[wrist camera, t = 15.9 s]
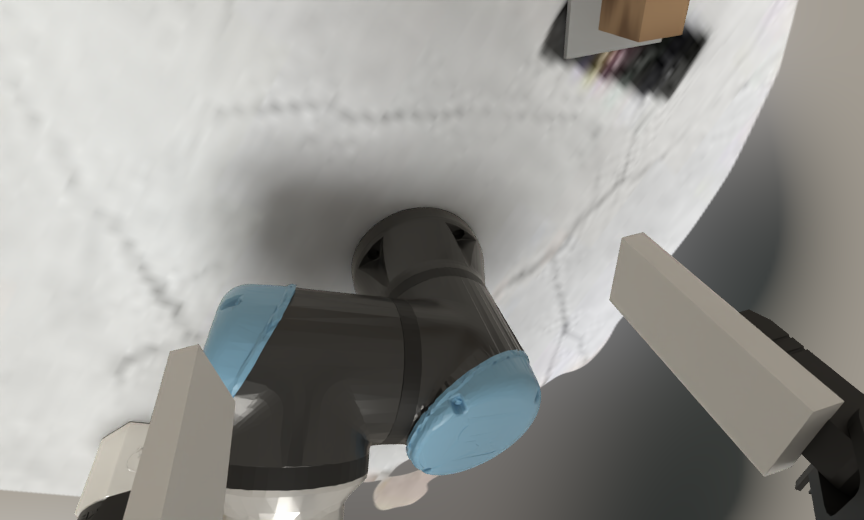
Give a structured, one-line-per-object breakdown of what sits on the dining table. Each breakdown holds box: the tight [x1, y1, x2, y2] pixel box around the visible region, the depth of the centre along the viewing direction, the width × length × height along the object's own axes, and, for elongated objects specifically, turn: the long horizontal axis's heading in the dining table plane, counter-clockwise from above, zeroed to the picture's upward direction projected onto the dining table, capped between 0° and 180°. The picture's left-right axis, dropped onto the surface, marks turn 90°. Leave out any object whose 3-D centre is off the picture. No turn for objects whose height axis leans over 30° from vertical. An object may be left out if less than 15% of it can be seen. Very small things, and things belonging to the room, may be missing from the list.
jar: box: [75, 422, 150, 520], centre depth 53 cm, size 9×8×12 cm
